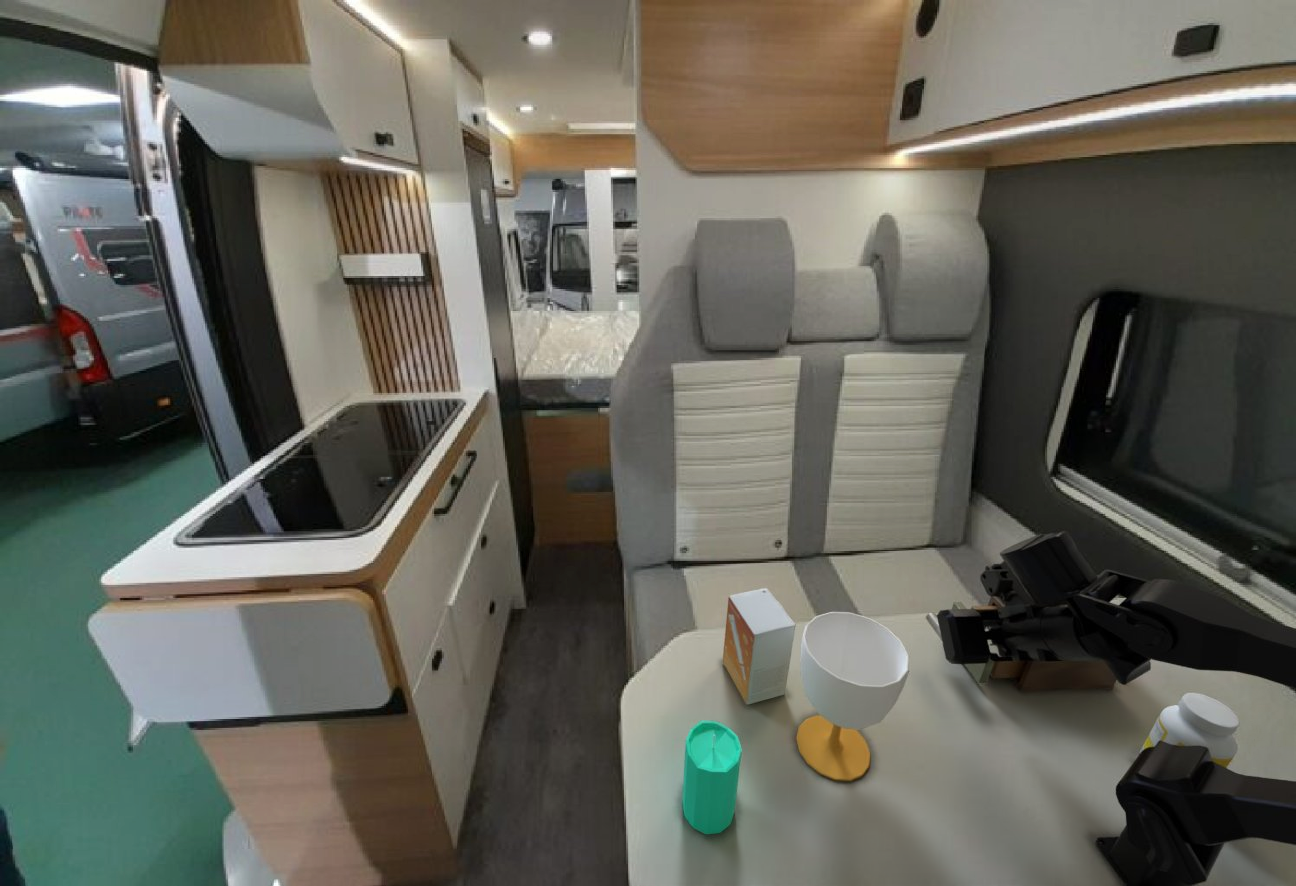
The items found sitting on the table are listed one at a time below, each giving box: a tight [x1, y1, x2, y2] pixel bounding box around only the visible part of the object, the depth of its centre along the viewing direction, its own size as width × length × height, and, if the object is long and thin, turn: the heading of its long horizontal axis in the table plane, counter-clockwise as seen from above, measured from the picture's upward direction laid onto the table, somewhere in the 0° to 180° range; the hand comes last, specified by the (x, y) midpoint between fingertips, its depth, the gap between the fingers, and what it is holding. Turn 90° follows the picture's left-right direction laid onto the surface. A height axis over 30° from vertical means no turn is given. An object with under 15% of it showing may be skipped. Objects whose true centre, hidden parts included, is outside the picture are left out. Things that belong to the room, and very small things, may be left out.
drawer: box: [925, 601, 1027, 685], centre depth 80 cm, size 18×9×7 cm, turn 92°
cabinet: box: [987, 596, 1118, 692], centre depth 80 cm, size 14×11×9 cm
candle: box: [681, 720, 743, 835], centre depth 59 cm, size 6×6×12 cm
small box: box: [722, 587, 797, 706], centre depth 76 cm, size 8×6×13 cm
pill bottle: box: [1137, 692, 1240, 769], centre depth 63 cm, size 6×6×12 cm
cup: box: [795, 611, 910, 782], centre depth 65 cm, size 12×12×17 cm
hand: (978, 636), depth 73 cm, fingers closed
